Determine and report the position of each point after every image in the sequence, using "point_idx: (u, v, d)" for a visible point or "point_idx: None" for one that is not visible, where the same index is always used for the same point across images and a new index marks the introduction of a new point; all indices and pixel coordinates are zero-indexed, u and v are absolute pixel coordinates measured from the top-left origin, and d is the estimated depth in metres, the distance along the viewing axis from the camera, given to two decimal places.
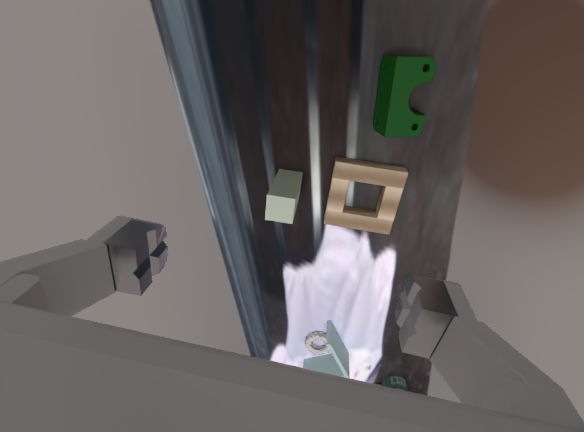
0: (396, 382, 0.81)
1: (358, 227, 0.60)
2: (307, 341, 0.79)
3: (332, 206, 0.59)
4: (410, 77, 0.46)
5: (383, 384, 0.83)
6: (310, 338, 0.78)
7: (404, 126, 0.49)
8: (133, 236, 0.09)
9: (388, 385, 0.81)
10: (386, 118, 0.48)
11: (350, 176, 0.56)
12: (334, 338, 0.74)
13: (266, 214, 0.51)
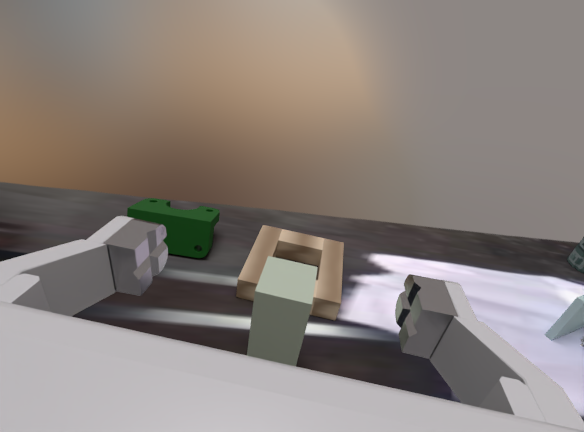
0: (579, 257, 0.57)
1: (339, 266, 0.43)
2: None
3: None
4: (155, 206, 0.45)
5: None
6: None
7: (205, 213, 0.45)
8: (133, 236, 0.09)
9: None
10: (190, 221, 0.42)
11: (262, 267, 0.40)
12: None
13: (299, 299, 0.24)
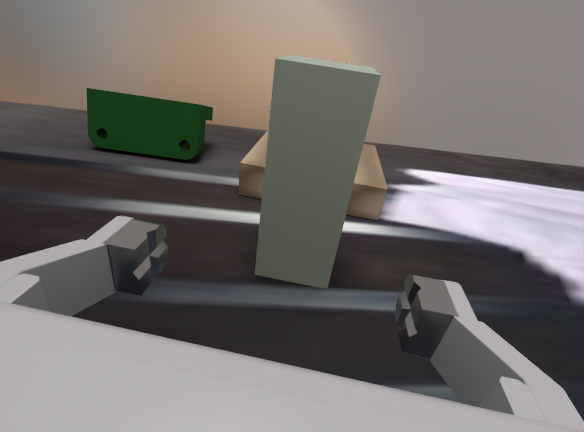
0: None
1: (375, 162, 0.32)
2: None
3: None
4: None
5: None
6: None
7: None
8: (133, 236, 0.09)
9: None
10: (173, 104, 0.31)
11: None
12: None
13: (357, 71, 0.14)
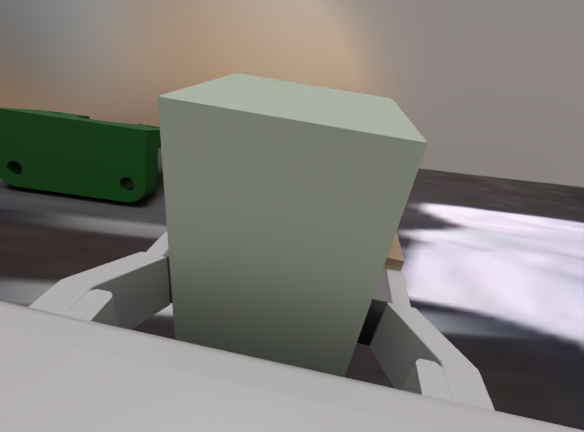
0: None
1: None
2: None
3: None
4: (52, 113, 0.25)
5: None
6: None
7: (143, 127, 0.26)
8: None
9: None
10: (108, 130, 0.23)
11: None
12: None
13: (366, 129, 0.05)
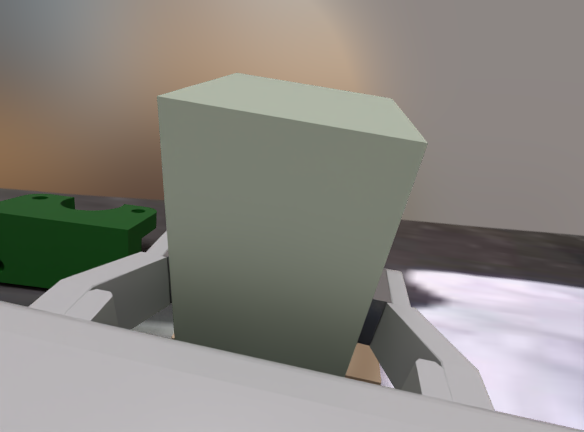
0: None
1: None
2: None
3: None
4: (35, 205, 0.25)
5: None
6: None
7: (126, 216, 0.26)
8: None
9: None
10: (90, 229, 0.23)
11: None
12: None
13: (366, 130, 0.05)
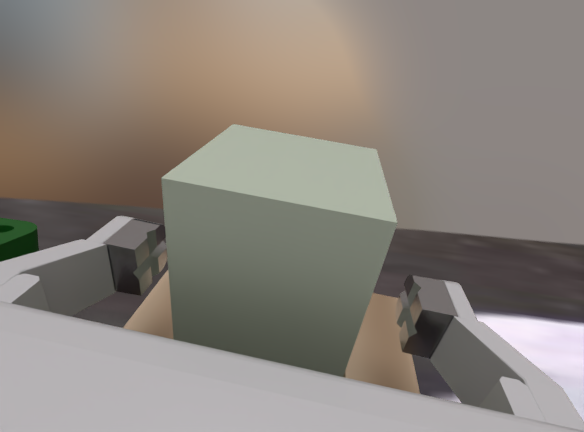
0: None
1: None
2: None
3: None
4: None
5: None
6: None
7: None
8: (133, 236, 0.09)
9: None
10: None
11: None
12: None
13: (344, 208, 0.06)
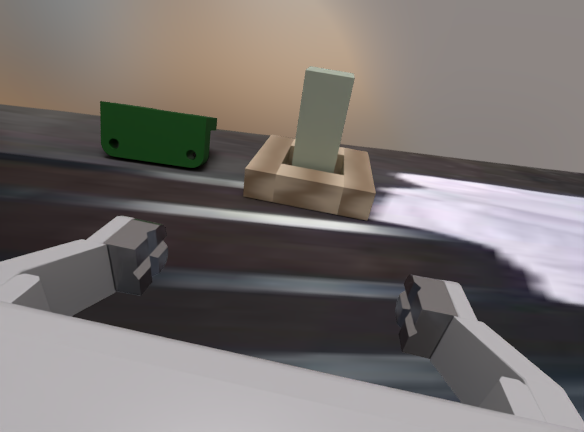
0: None
1: (367, 167, 0.35)
2: None
3: (334, 181, 0.31)
4: (137, 106, 0.36)
5: None
6: None
7: None
8: (133, 236, 0.09)
9: None
10: (180, 117, 0.34)
11: (274, 162, 0.33)
12: None
13: (343, 76, 0.29)
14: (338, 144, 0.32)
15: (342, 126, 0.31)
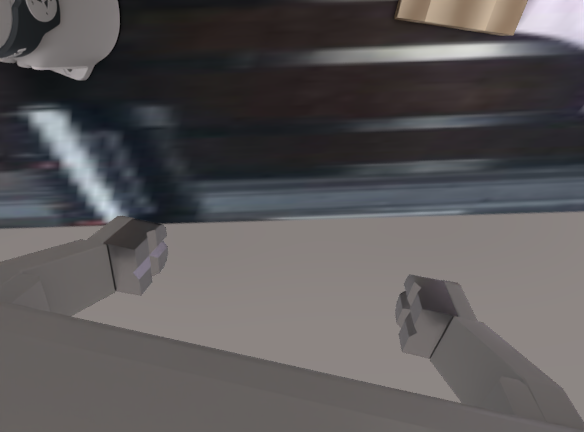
0: None
1: None
2: None
3: (480, 19, 0.34)
4: None
5: None
6: None
7: None
8: (133, 236, 0.09)
9: None
10: None
11: None
12: None
13: None
14: None
15: None
